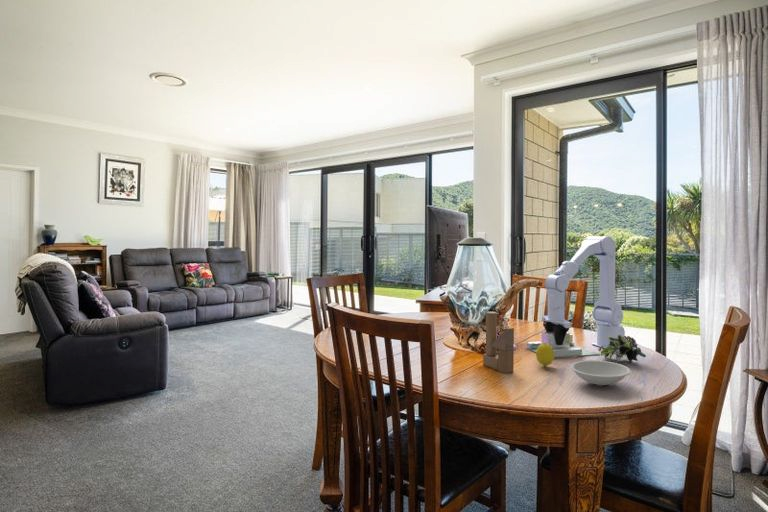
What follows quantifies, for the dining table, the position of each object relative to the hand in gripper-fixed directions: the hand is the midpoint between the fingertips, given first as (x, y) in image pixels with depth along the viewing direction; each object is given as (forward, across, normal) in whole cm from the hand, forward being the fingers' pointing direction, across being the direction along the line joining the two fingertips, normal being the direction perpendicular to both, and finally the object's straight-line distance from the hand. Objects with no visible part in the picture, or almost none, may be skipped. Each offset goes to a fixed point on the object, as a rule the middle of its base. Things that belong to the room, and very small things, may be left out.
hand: (555, 343), depth 153 cm
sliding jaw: (+3, -7, +3) cm, 8 cm away
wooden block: (+4, +12, -30) cm, 33 cm away
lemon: (+4, +14, -14) cm, 20 cm away
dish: (+4, +33, -9) cm, 34 cm away
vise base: (+4, -1, +4) cm, 5 cm away
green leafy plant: (+4, +15, +15) cm, 22 cm away
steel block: (+2, 0, 0) cm, 2 cm away
